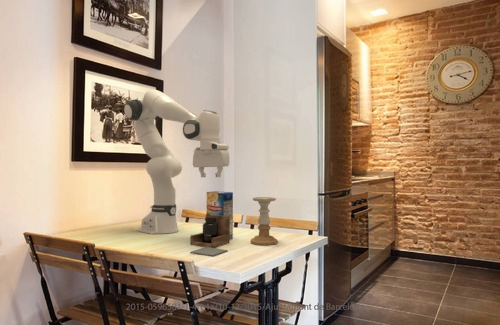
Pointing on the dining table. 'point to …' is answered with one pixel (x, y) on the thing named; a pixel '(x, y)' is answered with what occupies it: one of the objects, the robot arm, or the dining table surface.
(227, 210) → the beverage box
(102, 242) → the dining table surface
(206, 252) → the slate mat
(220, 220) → the walnut cubby
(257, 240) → the candle holder
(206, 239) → the supplement bottle
